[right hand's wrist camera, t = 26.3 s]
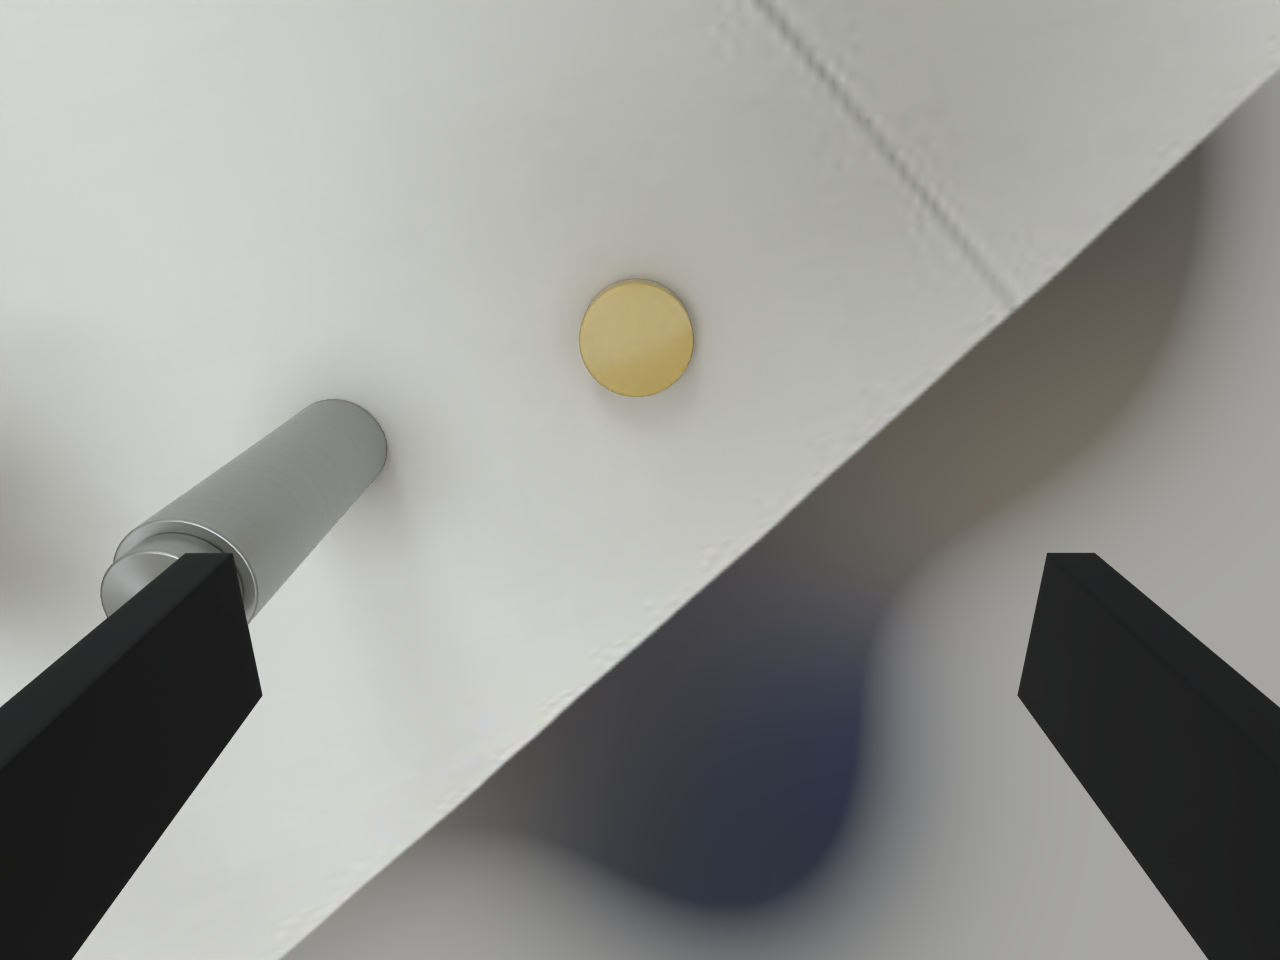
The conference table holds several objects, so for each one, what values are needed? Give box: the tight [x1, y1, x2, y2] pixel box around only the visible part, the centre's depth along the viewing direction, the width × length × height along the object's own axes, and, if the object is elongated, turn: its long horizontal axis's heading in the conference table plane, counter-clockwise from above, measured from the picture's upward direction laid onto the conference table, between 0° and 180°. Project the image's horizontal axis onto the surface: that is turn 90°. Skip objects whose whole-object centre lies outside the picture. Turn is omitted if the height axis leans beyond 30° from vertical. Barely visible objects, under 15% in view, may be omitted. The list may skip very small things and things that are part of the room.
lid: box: [579, 279, 693, 397], centre depth 37 cm, size 5×5×2 cm
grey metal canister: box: [101, 400, 387, 624], centre depth 33 cm, size 5×5×16 cm
